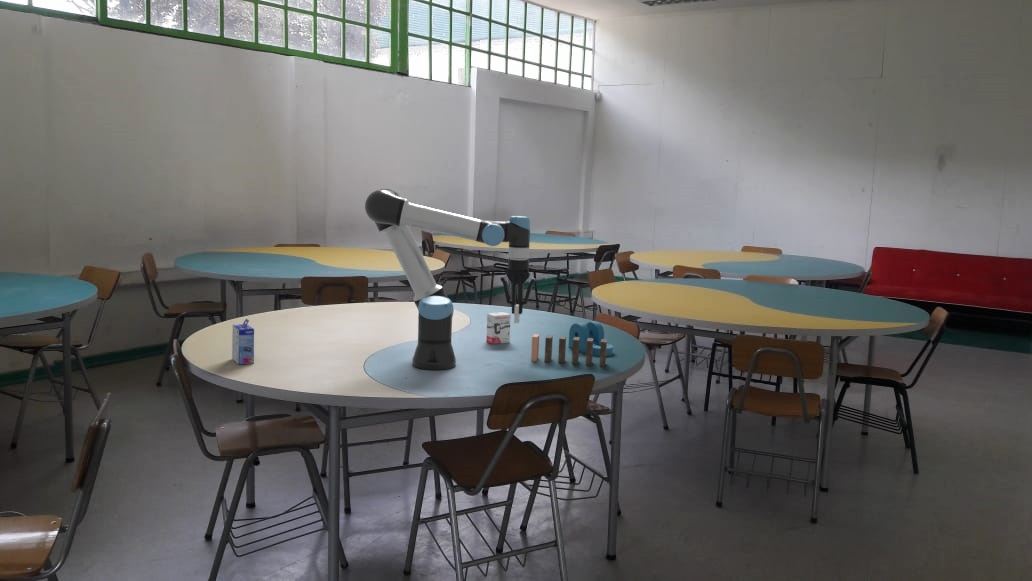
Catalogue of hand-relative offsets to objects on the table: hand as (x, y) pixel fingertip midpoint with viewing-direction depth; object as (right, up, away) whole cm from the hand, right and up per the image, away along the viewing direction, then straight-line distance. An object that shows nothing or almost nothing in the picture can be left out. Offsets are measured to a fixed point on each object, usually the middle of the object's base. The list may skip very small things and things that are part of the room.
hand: (516, 322), depth 277 cm
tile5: (+26, -15, -2) cm, 30 cm away
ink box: (-8, -9, +27) cm, 30 cm away
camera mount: (+30, -12, +19) cm, 38 cm away
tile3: (+16, -14, -1) cm, 22 cm away
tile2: (+12, -14, 0) cm, 18 cm away
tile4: (+21, -15, -2) cm, 26 cm away
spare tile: (+7, -14, +1) cm, 15 cm away
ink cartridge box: (-94, -13, -18) cm, 97 cm away
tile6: (+31, -15, -3) cm, 35 cm away
